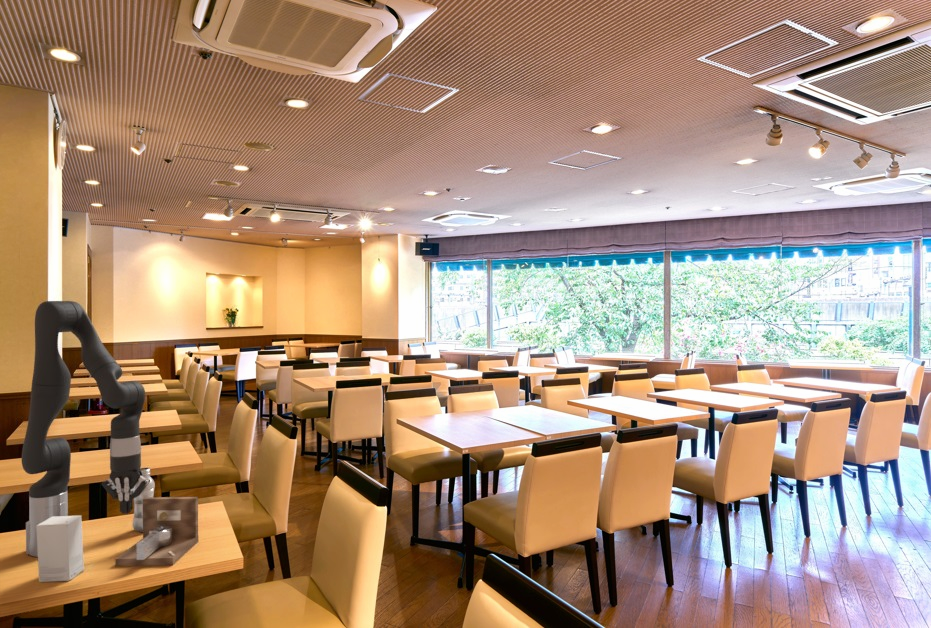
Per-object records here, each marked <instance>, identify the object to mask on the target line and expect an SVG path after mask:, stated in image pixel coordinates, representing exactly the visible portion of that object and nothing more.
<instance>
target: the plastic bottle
mask: <svg viewBox="0 0 931 628" xmlns="http://www.w3.org/2000/svg"><path fill="white" fill-rule="evenodd" d="M140 470H141V472H142V476H143V477H144V478H146V479H150V482H149V483H148V485H147V486H146V487H145V489H144V490H143V491H142V493H141V494H140V495H139V496H137V497H136V498H134V499H133V506H134V507H133V509H134V510H133V518H132V528H133V529H134V531H136V532H143V499H144V498H148V497H154V493H155V487H156V485H155V484H156V483H155V481H154V479H153V478H152V477H151V476H150V475H151V468H150V467H141V468H140ZM138 483H139V481H138V482H137V484H136V485H135V490H136V489H137V487H138V486H139V485H138ZM135 490H134V491H135Z"/></svg>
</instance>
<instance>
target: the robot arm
mask: <svg viewBox="0 0 931 628" xmlns="http://www.w3.org/2000/svg"><path fill="white" fill-rule="evenodd" d="M34 315H35V316H34V347H35V348H34V362H33V373H32V381H31V390H30V403H29V404H30V405H29V411H28V412H29V413H28V421H27V426H26V431H25V436H24V440H23V443H22V450H21V465H22V469H23V470H24V471H25V473H26V474H28V475H38V474H42V473H45V474H44V475H43V476H42V477H41V478H40V479H39V480H37V481H36V482H34V483H32V484H31V485H30V487H29V488H28V497H29V498H28V499H29V500H28V502H29V506H28V507H29V512H28V513H29V514H28V515H29V516H28V517H29V518H28V519H29V520H28V521H26V522H25V555H26V554H27V556H28V554H29V556H32V557H37V558H38V551H37V531H36V525H38V524H40V523H42V522H44V521H45V520H47V519H49V518H51V517H53V516H69V511H68V510H69V508H68V507H69V505H68V502H69V501H68V500H69V499H68V485H69V483H70V479H71V460H72V459H71V457H72V456H71V453H72V452H71V446H70V444H69V442H68V441H67V439H66V438H64V437H54V438H53V437H52V438H48V439H47V435H48V433H49V430H50V427H51V425H52V423H53V422H54V420H55V419H56V418H57V417H58V416H59V414H60V412H61V411H62V410H63V409H64V407H65V406H66V404H67V402H68V401H69V399H70V394H71V393H70V391H71V382H72V376H71V372H70V370H69V368H68V366H67V365H66V363H65V360H63V358H62V356H61V355H60V351H59V347H58V346H59V333H67V332H69V333H72V334H73V335H74V336H75V337H76V338H77V339H78V341H79V343H80V346H81V351H80V352H81V355H80V357H81V362H82V364H83V366H84V368H85V369H86V371H87V372H88V374H90V376H91V377H92V379H94V380H95V382H96V385H97V389H98V390H99V393H100V397H101V399H102V402H103V403H104V404H105V405H106V406H108V407H109V408H111V409H121V411H120V413H119V414H118V415H116V416H115V417H112V418H111V421H110V443H109V468H110V469H109V470H110V474H109V477H108V478H107V479H106V480H104V481H102V482H101V486H102V487H103V488H104V490H105V491H106V492H107V494H109V496H110V497H111V498H112V499H113V500H118V501H119V511H120V512H121V514H122V515H128V514H130V513H131V511H133V509H134V507H133V506H134V498H136V497H137V496H139V495H140V494H141V493H142V491H143V490H144V489H145V487H146V486H147V485H148V483H149V482H150V479H146V478H144V477H143V476H142V472H141V470H140V468H142V467H141V466H142V454H141V453H142V447H141V446H142V445H141V444H142V443H141V438H140V437H141V436H140V420H141V416H142V414H143V409H144V406H145V405H144V404H145V400H146V389H145V387H144V386H143V384H142V383H141V382H140V381H137V380H130V381H123V382H119V380H120V378H121V377H122V375H123V370H122V367H121V366H120V365H119V363H118V362H117V361H116V359H114V357H113V356H112V355H111V353H109V351H108V350H107V348H106V347H105V345H104V344H103V341H101V338H100V337H99V335H98V332H97V330H96V328H95V326H94V325H93V323H92V321H91V319H90V317H89V315H88V314H87V312H86V310H85V309H84V308H83V306H82V305H81V304H80V303H79V302H77V301H73V300H47V301H42V302H41V303H39V304H38V306H37V307H36V311H35V314H34ZM138 481H139V483H138V485H139V486H138V487H137V489H136V490H135V485H136V484H137V482H138ZM134 490H135V491H134Z"/></svg>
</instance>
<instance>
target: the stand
mask: <svg viewBox="0 0 931 628" xmlns="http://www.w3.org/2000/svg"><path fill="white" fill-rule="evenodd" d="M161 525H164V526H170V527H172V543H171V544H169V545H167V546H163V547H159V548H158V549H157V550H155V551H154V552H153V553H152V554H150V555H149V556H148V557H147V558H146V559H144V560H137V543H138V542H140V541H141V540H142V539H144V538H145V537H146V536H148V535H149V531H150V530H151V529H153V528H156V527H157V526H161ZM198 542H199V497H198V496H176V497H175V496H174V497H173V496H171V497H170V496H165V497H160V496H157V497H154V496H153V497H148V498H144V499H143V531H142V538H141V539H140V540H139V541H137V542H136V543H135V544H133V545H132V546H131V547H129V548H128V549H126V550H125V551H124V552H123V553H121V554H120V555H118V556H117V557H116V558H115V559H114V560H115V562H114V563H115V565H114V566H115V567H127V566H128V567H129V566H131V567H132V566H134V567H135V566H136V567H137V566H141V567H142V566H144V567H145V566H174V565H175V564H177V562H178V561H180V559H181V558H182V557H184V556H185V555H186V554H187V553H188V552H189V551H190V550H191V549H192V548H193V547H194V546H195V545H196V544H198ZM188 550H189V551H188ZM185 553H186V554H185ZM184 554H185V555H184ZM173 564H174V565H173Z"/></svg>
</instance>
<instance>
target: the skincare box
mask: <svg viewBox="0 0 931 628" xmlns="http://www.w3.org/2000/svg"><path fill="white" fill-rule="evenodd" d="M82 519H83V518H82V515H68V516H53V517H51V518H49V519H47V520H45V521H44V522H42V523H40V524H38V525H36V531H37V551H38V557H37V566H38V567H37V568H38V569H37V570H38V583H47V582H48V583H49V582H52V583H53V582H70V581H71V580H73V579H74V578H75V577H77V576H78V575H80V573H82V572H83V571H84V570H85V565H84V562H85V561H84V545H83V544H84V541H83V524H82V523H83V522H82Z"/></svg>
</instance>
